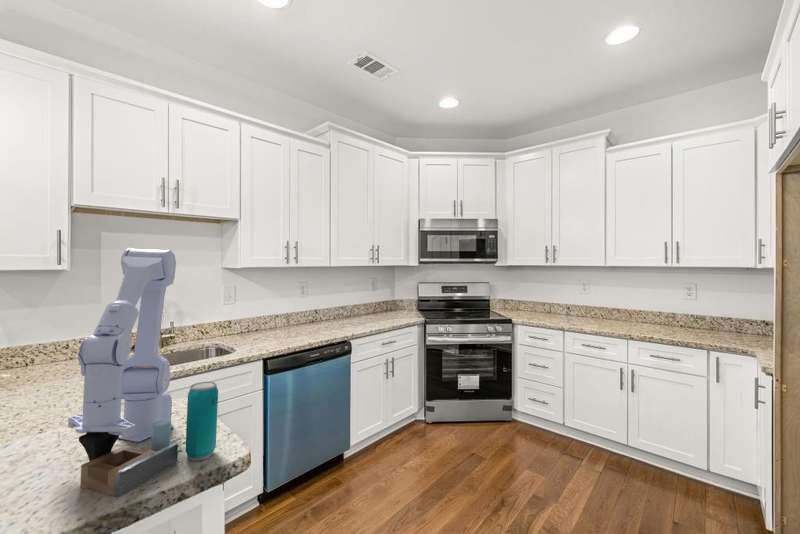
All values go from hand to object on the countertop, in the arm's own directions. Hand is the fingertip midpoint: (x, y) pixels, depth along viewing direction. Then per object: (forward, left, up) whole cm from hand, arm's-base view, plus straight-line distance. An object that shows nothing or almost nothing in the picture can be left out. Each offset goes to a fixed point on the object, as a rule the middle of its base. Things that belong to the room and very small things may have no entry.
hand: (99, 469), depth 70 cm
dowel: (-9, +5, -1) cm, 10 cm away
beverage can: (-12, +12, -1) cm, 17 cm away
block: (0, +5, -1) cm, 5 cm away
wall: (-2, +10, -1) cm, 10 cm away
